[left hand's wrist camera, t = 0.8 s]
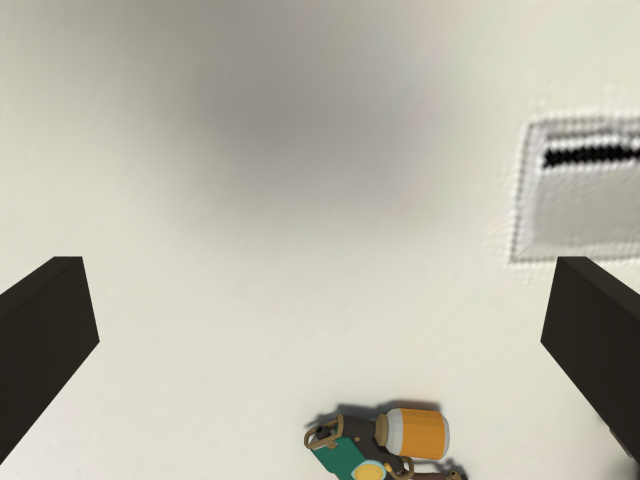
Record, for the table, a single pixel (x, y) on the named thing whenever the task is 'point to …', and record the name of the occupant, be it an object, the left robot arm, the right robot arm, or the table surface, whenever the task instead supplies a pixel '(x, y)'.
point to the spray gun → (382, 445)
